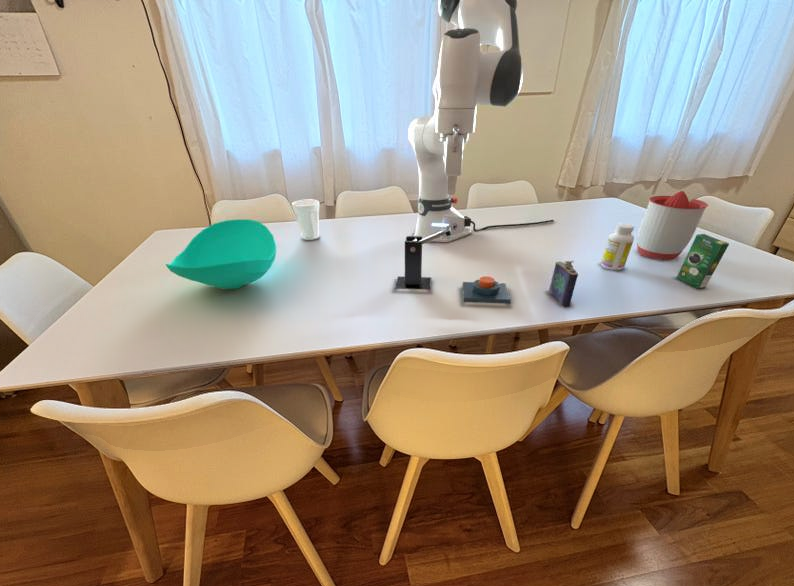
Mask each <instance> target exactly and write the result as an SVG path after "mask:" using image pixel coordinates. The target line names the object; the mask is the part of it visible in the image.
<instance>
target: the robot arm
mask: <svg viewBox="0 0 794 586" xmlns="http://www.w3.org/2000/svg"><path fill="white" fill-rule="evenodd" d="M437 6H438V14H439V17H440V18H441V19H442V20H443V21H444V22H446V23H448V24H449V23H451V24H452V25H454V26H453V28H452V29H449V30H447V31H446V32H445V33H443V34H442V37H441V43H440V50H439V57H438V67H437V69H436V76H435V79H434V83H433V86H432V94H433V96H434V99H435V107H434V114H433V115H429V114H426V115H422V116H419V117H417V118H415V119H413V120H412V121H411V123H410V125H409V126H408V131H407V136H408V141H409V143H410V145H411V146H412V148H413V151H414V155H415V160H416V164H417V169H418V197H417V221H416V226H415V230H414V234H413V236H422V239H424V238H426V237H429V236H431V235H433V234H436V233H438V232H440V231H442V230H445V227H446V226H448V225H450V228H451V235H449V236H446V234H445V235H443V236H441V237H438V238H436V239H434V240H431V241H430V242H437V243H438V242H439V243H441V242H442V243H449V242H452V241H455V240H458V239H460V238H463V237H465V236H468V235H470V234H471V229H470V228H468V227H471V226H472V225H473V226H472V230H473V231H474V232H478V231H484V230H486V229H491V228H504V227H505V228H506V227H521V226H531V225H539V224H547V223H552V222H554V221H555V220H554V219H549V220H542V221H534V222H525V223H510V224H509V223H508V224H495V225H488V226H485V227H482V228H480V229H477V228H476V223H475V222H474V221H473V220H472V218H470V217H469V216H467V215H463V214H461V212H459V211H458V210H457V209H456V208H454V207H453V204H458V202H459V198H457V197H455V196H454V195H455V194H456V187H457V181H458V177H461V175H462V170H463V157H464V149H465V147H466V145H467V143H468V141H469V135H470V134H474V133H475V131H476V130H475V129H476V117H477V107H478V106H479V105H480V106H483V105H484V106H490V105H491V106H495V107H505V108H506V107H507V106H508V105H509V104H510V103H512V102H513V101H514V100H515V99H516V98H518V96H519V93H520V90H521V87H522V84H523V77H524V69H523V68H524V66H523V62H522V56H521V51H520V40H519V39H520V38H519V27H518V26H519V25H518V16H517V7H518V0H438V3H437ZM482 45H486V47H490V46H492V47H495V48H498V49H499V50H498V51H481V46H482ZM451 196H453V197H451ZM471 224H472V225H471Z"/></svg>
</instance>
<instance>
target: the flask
mask: <svg viewBox="0 0 794 586" xmlns="http://www.w3.org/2000/svg"><path fill="white" fill-rule="evenodd" d="M572 263H575V261H574V260H565V261H564V262H563V261H556V262H555V263H554V264H555V265H554V269H553V273H552V277H551V281H550V285H549V290H548V295H549V296H551V297H553V299H554V300H556V301H557V303H559V305H561V306H562V307H564V308H569V307H570V306H571V303H572V298H573V296H574V290H575V287H576V283H577V280H578V277H579V273H578V272H577V270H576V269H575V268H574V266H573V265H572Z"/></svg>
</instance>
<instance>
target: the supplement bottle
mask: <svg viewBox="0 0 794 586" xmlns="http://www.w3.org/2000/svg"><path fill="white" fill-rule="evenodd" d="M634 229H635V226H634V225H633V224H630V223H625V222H624V223H623V222H621V223H617V224H616V226H615V231H614V232H612V233H610V235H609V237H608V240H607V243H606V246H605V250H604V253H603V256H602V259H601V263H600V264H601V267H603V268H604V269H605V270H611V271H621V270H623V269H624V268H625V266H626V263H627V260H628V257H629V254H630V252H631V250H632V246H633V243H634V240H635V236H634V235H633V234H632V233H633V231H634Z"/></svg>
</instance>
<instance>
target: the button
mask: <svg viewBox="0 0 794 586" xmlns="http://www.w3.org/2000/svg"><path fill="white" fill-rule="evenodd" d="M478 280H479V286H480V287H483V288H492V287H494V282H495V281H496V280H495V278H494V277H492V276H481V277H479V279H478Z"/></svg>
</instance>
